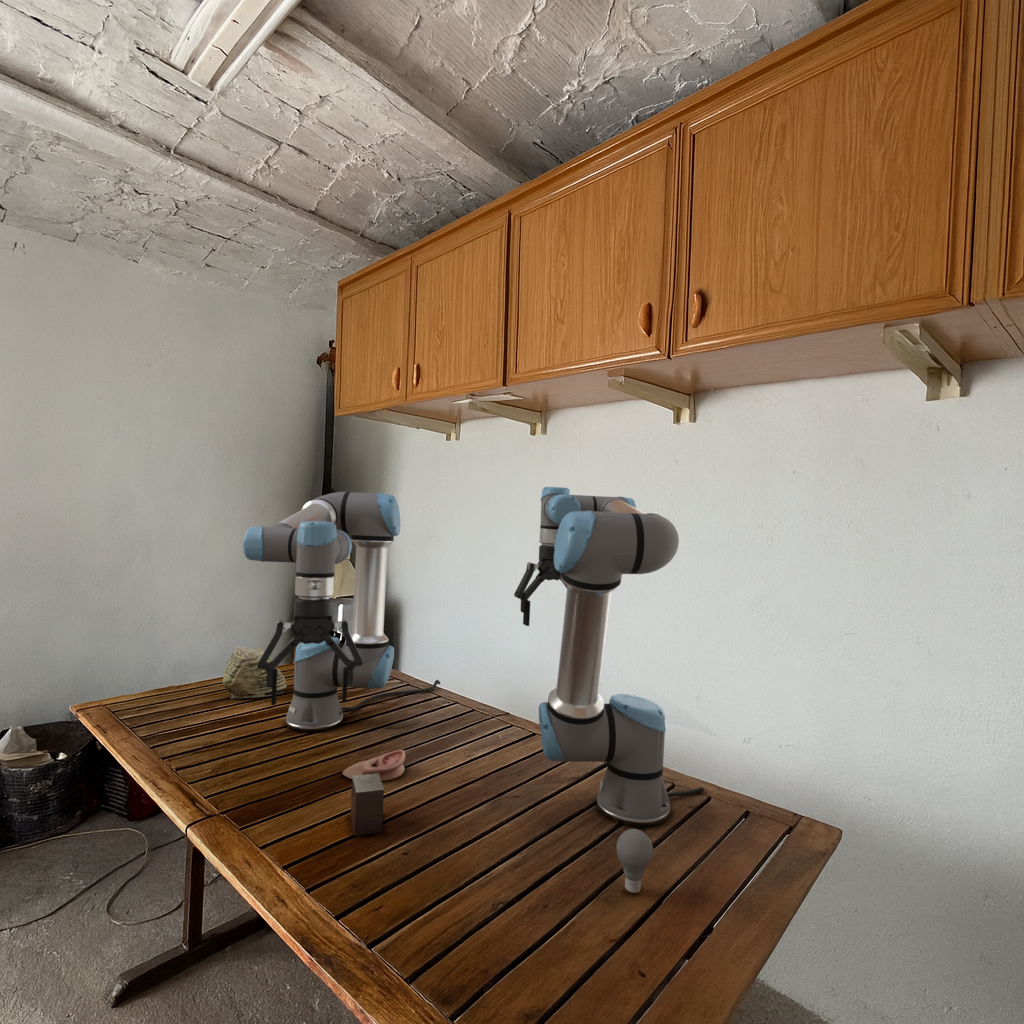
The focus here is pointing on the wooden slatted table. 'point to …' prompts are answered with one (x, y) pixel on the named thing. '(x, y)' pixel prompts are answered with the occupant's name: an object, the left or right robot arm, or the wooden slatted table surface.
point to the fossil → (249, 675)
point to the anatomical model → (379, 766)
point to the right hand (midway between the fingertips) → (549, 624)
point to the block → (367, 804)
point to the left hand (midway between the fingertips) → (309, 701)
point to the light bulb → (634, 857)
